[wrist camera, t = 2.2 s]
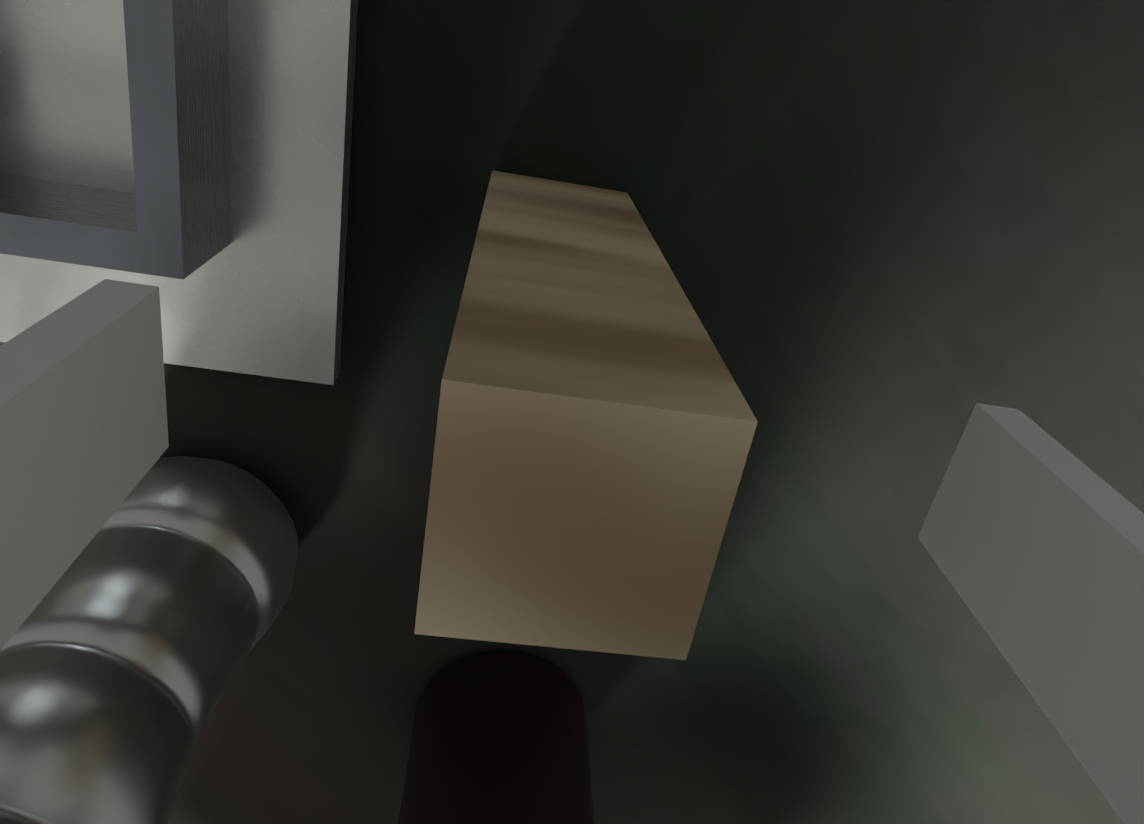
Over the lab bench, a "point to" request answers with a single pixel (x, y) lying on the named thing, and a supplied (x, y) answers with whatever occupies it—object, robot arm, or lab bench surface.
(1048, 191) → the lab bench surface
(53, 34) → the grey socket base
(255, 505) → the plastic bottle
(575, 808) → the vinegar
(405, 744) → the lab bench surface
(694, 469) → the beech rail
